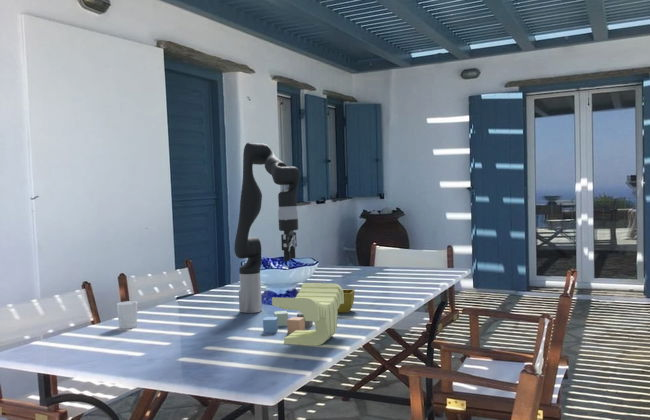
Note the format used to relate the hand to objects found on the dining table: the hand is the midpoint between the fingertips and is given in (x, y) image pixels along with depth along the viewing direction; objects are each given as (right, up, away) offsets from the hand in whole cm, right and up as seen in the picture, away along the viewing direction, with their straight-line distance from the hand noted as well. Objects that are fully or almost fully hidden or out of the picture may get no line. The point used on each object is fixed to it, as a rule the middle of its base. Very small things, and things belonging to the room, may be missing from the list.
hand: (289, 259), depth 231 cm
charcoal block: (+6, -26, +3) cm, 27 cm away
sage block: (-4, -26, +6) cm, 27 cm away
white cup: (-67, -29, +12) cm, 74 cm away
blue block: (-7, -27, -4) cm, 28 cm away
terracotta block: (+3, -27, -6) cm, 28 cm away
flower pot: (+22, -25, +26) cm, 42 cm away
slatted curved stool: (+9, -27, -20) cm, 35 cm away
